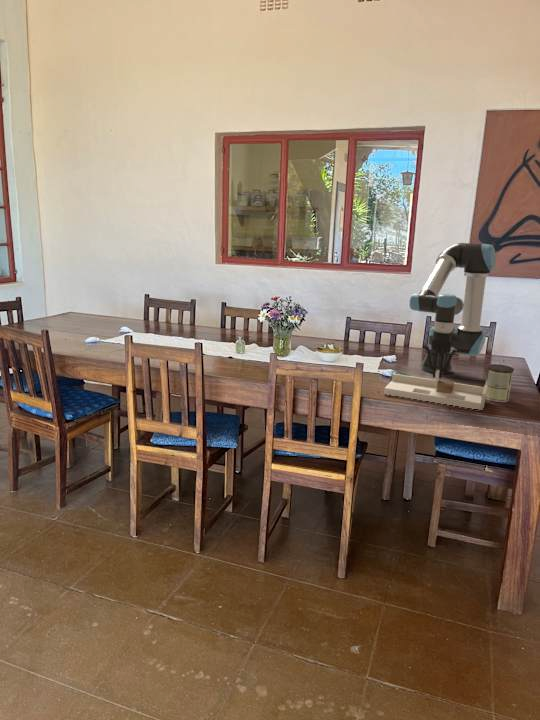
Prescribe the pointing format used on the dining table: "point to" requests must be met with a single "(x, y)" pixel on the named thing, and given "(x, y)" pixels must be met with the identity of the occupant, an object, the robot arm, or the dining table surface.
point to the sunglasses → (400, 374)
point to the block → (445, 386)
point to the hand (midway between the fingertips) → (436, 385)
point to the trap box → (428, 392)
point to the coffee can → (498, 382)
